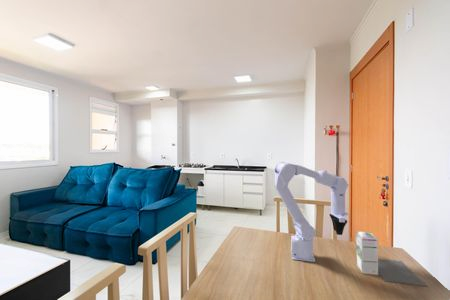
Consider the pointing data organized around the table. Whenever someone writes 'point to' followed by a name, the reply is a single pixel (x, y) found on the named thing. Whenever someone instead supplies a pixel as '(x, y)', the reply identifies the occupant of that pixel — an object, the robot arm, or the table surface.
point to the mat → (397, 272)
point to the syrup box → (367, 252)
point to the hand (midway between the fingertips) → (338, 232)
